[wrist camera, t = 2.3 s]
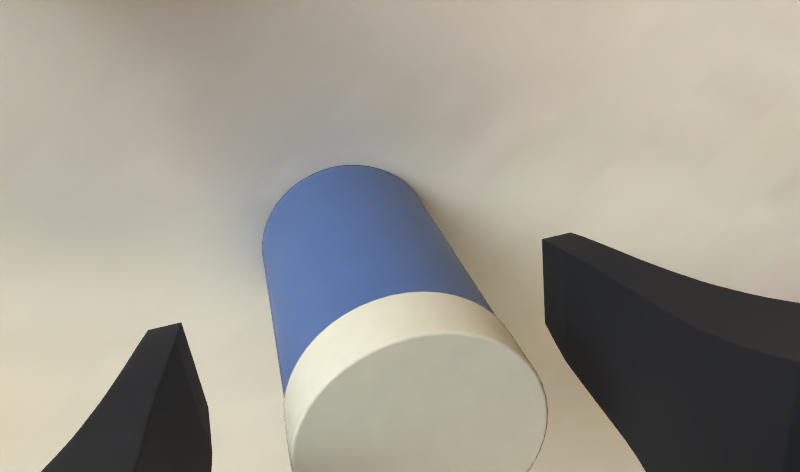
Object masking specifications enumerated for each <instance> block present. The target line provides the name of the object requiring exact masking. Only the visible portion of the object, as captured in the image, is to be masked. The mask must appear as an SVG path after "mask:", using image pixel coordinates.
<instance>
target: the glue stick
mask: <svg viewBox="0 0 800 472" xmlns="http://www.w3.org/2000/svg"><path fill="white" fill-rule="evenodd" d="M262 253H263V260H264V267H265V274H266V280H267V287H268V294H269V300H270V307H271V314H272V320H273V327H274V334H275V340H276V347H277V354H278V360H279V367H280V374H281V380H282V387H283V394H284V422H285V429H286V436H287V443H288V450H289V457H290V463H291V469H292V472H528V471H529V470H530V468H531V466H532V465H533V463H534V462H535V460H536V458H537V456H538V454H539V452H540V449H541V446H542V443H543V441H544V438H545V433H546V428H547V417H548V408H547V399H546V394H545V391H544V388H543V384H542V382H541V380H540V378H539V376H538V374H537V372H536V371H535V369H534V368H533V366H532V365H531V363H530V362H529V360H528V359H527V357H526V356H525V354H524V353H523V351H522V350H521V348H520V347H519V345H518V344H517V342H516V341H515V339H514V337H513V336H512V334H511V333H510V332H509V330H508V329H507V328H506V326H505V325H504V324H503V323H502V322H501V321H500V320H499V319H498V318H497V317H496V315H495V314H494V312H493V311H492V309H491V308H490V306H489V305H488V303H487V302H486V300H485V299H484V297H483V295H482V294H481V292H480V291H479V289H478V288H477V286H476V285H475V283H474V282H473V280H472V279H471V277H470V275H469V274H468V272H467V271H466V269H465V268H464V266H463V265H462V263H461V262H460V260H459V259H458V257H457V256H456V254H455V252H454V251H453V249H452V248H451V246H450V245H449V243H448V242H447V240H446V239H445V237H444V236H443V234H442V233H441V231H440V229H439V228H438V226H437V225H436V223H435V222H434V220H433V219H432V217H431V216H430V214H429V213H428V211H427V209H426V208H425V206H424V205H423V203H422V202H421V200H420V199H419V197H418V196H417V195H416V193H415V192H414V191H413V190H412V189H411V188H410V187H409V186H408V185H407V184H406V183H405V182H403V181H402V180H401V179H399V178H398V177H396V176H394V175H392V174H391V173H388V172H386V171H383V170H381V169H377V168H373V167H369V166H360V165H345V166H338V167H333V168H329V169H325V170H322V171H320V172H317V173H315V174H312V175H310V176H309V177H307V178H305V179H303V180H301V181H300V182H299V183H297V184H296V185H295V186H293V187H292V188H291V189H290V190H289V191H288V192H287V193H286V194H285V195H284V196H283V197H282V198H281V199H280V201H279V202H278V203H277V204H276V206H275V208H274V209H273V211H272V212H271V214H270V217H269V219H268V221H267V224H266V227H265V231H264V235H263V243H262Z"/></svg>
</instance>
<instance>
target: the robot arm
mask: <svg viewBox="0 0 800 472" xmlns="http://www.w3.org/2000/svg"><path fill="white" fill-rule="evenodd" d="M542 252H543V279H544V306H545V324H546V326H547V328H548V329H549V331H550V333H551V335H552V337H553V339H554V341H555V343H556V345H557V346H558V348H559V350H560V352H561V353H562V355H563V357H564V359H565V360H566V362H567V363H568V365H569V366H570V368H571V369H572V370H573V372H574V373H575V374H576V376H577V377H578V378H579V380H580V381H581V382H582V384H583V385H584V386H585V388H586V389H587V390H588V392H589V393H590V394H591V396H592V397H593V398H594V400H595V401H596V402H597V403H598V405H599V406H600V407H601V409H602V410H603V411H604V413H605V414H606V415H607V417H608V418H609V419H610V421H611V422H612V423H613V424H614V426H615V427H616V428H617V430H618V431H619V432H620V434H621V435H622V436H623V438H624V439H625V440H626V442H627V443H628V445H629V446H630V448H631V449H632V450H633V452H634V453H635V455H636V456H637V458H638V459H639V461H640V463H641V464H642V466H643V468H644V469H645V471H646V472H800V303H795V302H789V301H784V300H778V299H772V298H767V297H762V296H757V295H752V294H748V293H744V292H740V291H736V290H732V289H728V288H724V287H720V286H716V285H713V284H709V283H706V282H702V281H699V280H696V279H693V278H690V277H687V276H684V275H681V274H678V273H675V272H672V271H669V270H666V269H664V268H661V267H658V266H656V265H653V264H650V263H648V262H645V261H643V260H640V259H637V258H635V257H632V256H630V255H628V254H625V253H623V252H620V251H618V250H615V249H613V248H610V247H608V246H605V245H603V244H600V243H598V242H595V241H593V240H590V239H588V238H585V237H582V236H579V235H576V234H573V233H567V234H563V235H558V236H554V237H550V238H545V239H542ZM211 468H212V445H211V433H210V422H209V411H208V405H207V402H206V399H205V396H204V393H203V389H202V386H201V383H200V380H199V377H198V374H197V370H196V367H195V364H194V361H193V358H192V355H191V352H190V348H189V345H188V342H187V339H186V336H185V333H184V330H183V326H182V323H177V324H173V325H168V326H164V327H160V328H155V329H151V330H148V331H147V333H146V334H145V336H144V337H143V339H142V340H141V342H140V343H139V345H138V346H137V348H136V349H135V351H134V352H133V354H132V356H131V357H130V359H129V360H128V362H127V363H126V365H125V367H124V368H123V370H122V371H121V373H120V374H119V376H118V377H117V379H116V380H115V382H114V383H113V385H112V386H111V388H110V389H109V390H108V392H107V393H106V395H105V396H104V398H103V399H102V401H101V402H100V403H99V405H98V406H97V407H96V409H95V410H94V411H93V412H92V414H91V415H90V416H89V418H88V419H87V420H86V422H85V423H84V424H83V425H82V427H81V428H80V429H79V431H78V432H77V433H76V434H75V435H74V437H73V438H72V439H71V440H70V441H69V442H68V443H67V445H66V446H65V447H64V448H63V449H62V450H61V451H60V452H59V453H58V454H57V455H56V457H55V458H54V459H53V460H52V461H51V462H50V463H49V464H48V465H47V466H46V467H45V468H44V469H43V470H42V471H41V472H211Z"/></svg>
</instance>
